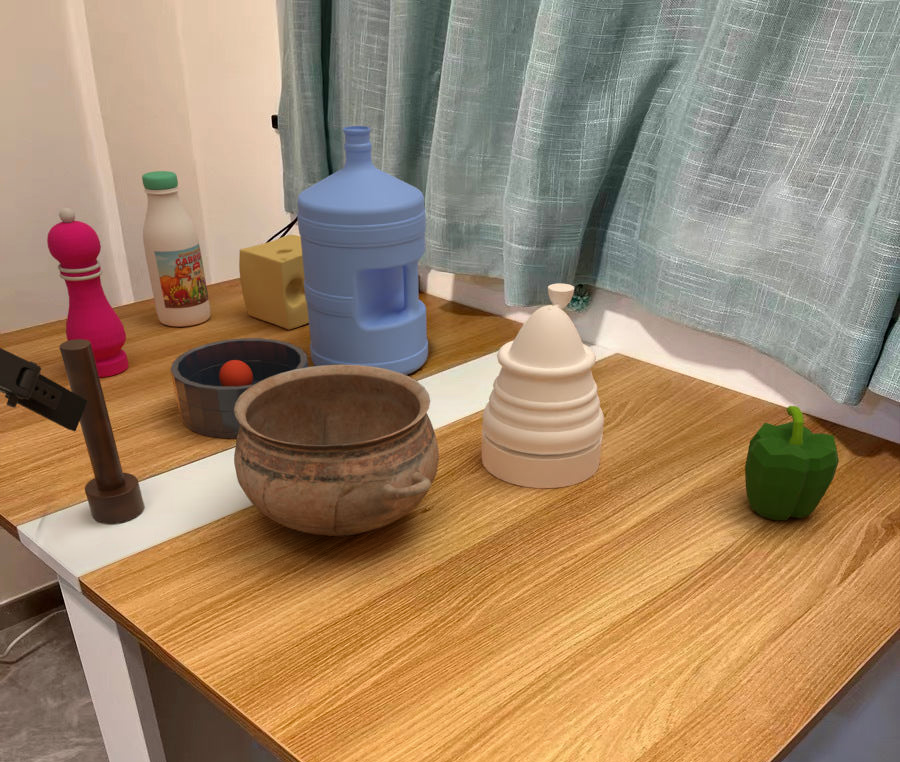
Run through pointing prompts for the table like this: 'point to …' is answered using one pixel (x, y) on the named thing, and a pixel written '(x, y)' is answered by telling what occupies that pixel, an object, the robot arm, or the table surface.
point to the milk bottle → (173, 254)
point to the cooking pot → (335, 448)
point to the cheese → (275, 282)
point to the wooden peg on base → (100, 441)
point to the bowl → (202, 391)
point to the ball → (235, 374)
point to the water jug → (363, 264)
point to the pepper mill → (87, 293)
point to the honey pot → (544, 403)
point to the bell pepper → (789, 468)
